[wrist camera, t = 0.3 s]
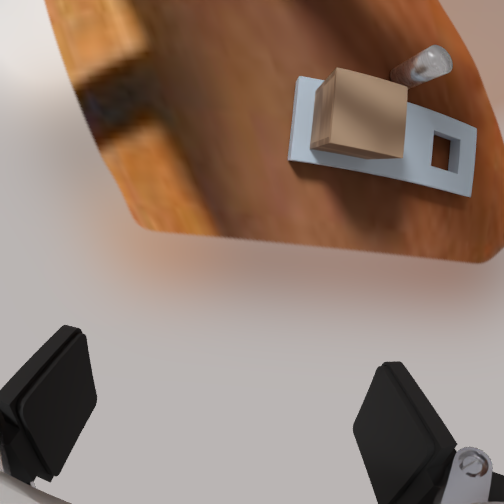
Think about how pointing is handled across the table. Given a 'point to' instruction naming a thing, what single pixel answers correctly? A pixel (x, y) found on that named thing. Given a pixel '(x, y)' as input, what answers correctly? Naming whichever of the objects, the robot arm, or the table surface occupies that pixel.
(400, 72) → the peg
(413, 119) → the board
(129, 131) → the table surface
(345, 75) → the wooden box
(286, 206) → the table surface
